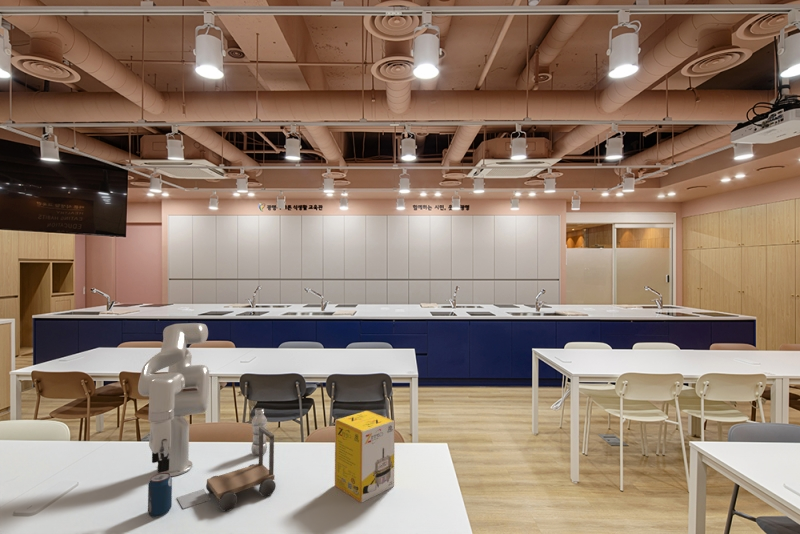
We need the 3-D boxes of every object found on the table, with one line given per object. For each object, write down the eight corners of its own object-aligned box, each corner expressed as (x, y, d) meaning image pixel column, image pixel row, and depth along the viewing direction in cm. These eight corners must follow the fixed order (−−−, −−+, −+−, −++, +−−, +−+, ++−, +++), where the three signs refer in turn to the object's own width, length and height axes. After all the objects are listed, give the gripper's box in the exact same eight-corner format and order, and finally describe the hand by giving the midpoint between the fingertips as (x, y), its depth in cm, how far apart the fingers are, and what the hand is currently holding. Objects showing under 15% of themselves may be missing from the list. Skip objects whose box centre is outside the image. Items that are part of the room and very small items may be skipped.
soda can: (176, 507, 139) (176, 472, 139) (162, 519, 132) (163, 482, 132) (157, 505, 140) (158, 471, 140) (142, 517, 133) (143, 481, 133)
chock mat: (176, 498, 144) (176, 497, 144) (203, 489, 150) (203, 488, 150) (183, 509, 138) (183, 508, 138) (210, 499, 144) (210, 499, 144)
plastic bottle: (262, 457, 177) (262, 412, 177) (248, 456, 178) (248, 411, 179) (269, 451, 183) (270, 407, 184) (256, 450, 185) (256, 406, 185)
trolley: (219, 514, 135) (220, 452, 136) (205, 494, 147) (206, 437, 148) (276, 493, 148) (276, 437, 149) (258, 476, 160) (259, 424, 161)
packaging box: (367, 471, 165) (367, 410, 166) (394, 486, 154) (394, 420, 154) (334, 485, 154) (335, 420, 155) (361, 502, 142) (361, 431, 143)
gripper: (144, 411, 140) (142, 461, 140) (153, 424, 127) (152, 479, 127) (168, 407, 145) (167, 455, 145) (180, 419, 132) (178, 472, 132)
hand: (160, 466), depth 136 cm, fingers open, 9 cm apart
